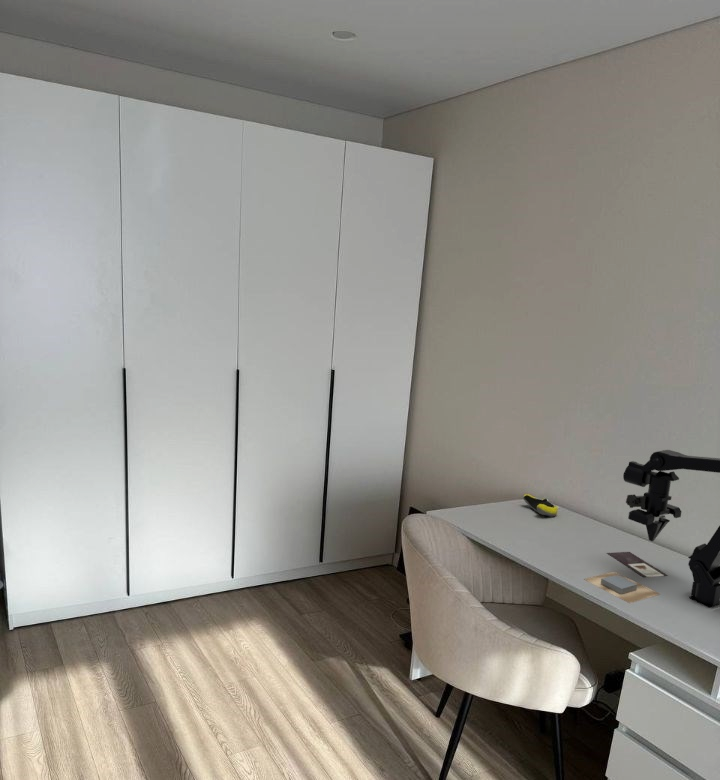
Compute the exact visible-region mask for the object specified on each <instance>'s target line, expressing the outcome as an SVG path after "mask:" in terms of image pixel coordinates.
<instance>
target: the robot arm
mask: <svg viewBox="0 0 720 780" xmlns="http://www.w3.org/2000/svg"><path fill="white" fill-rule="evenodd" d="M677 470H688V471H689V470H691V471H701V472H709V473H718V474H719V473H720V458H719V457H718V458H717V457H708V456H694V455H687V454H684V453H681V452H678V451H674V450H671V449H664V450H663V449H662V450H659V451H653V453H651V454H650V457H649V460H648V461H647V462H645V464H642V463H640V462H639V463H638V462H637V461H634V460H633V461H628V465H627V467H626V468H625V470H624V471H623V478H622V479H623V481H624V482H625V483H627V484H628V483H629V484H630V485H631V484H632V485H635V486H638V487H641V488H645V487H646V486H648V488H647V489H648V490H647V492H644V493H643V495H636V494H634V493H633V494H627V496H626V500H625V503H626V504H627V506H629V509H632V508H636V509H633V510H631V511H629V512H628V520H631V521H634V522H636V523H638V524H641V525H644V526H645V527H646V532H647V537H648V540H649V541H650V542H654V541H655V540H656V538H657V537H658V536H659V535H660V533H661V531H663V529H665V527H666V526H667V524H668V523H670V522H671V520H670V519H667V517H666V515H669V514H670V515H672V516H673V518H675V519H678V518H681V516H682V510H681V508H680V507H678V506H675V505H672V504H670V503H669V501H672V496H671V495H670V489H671V483H672V482H676V481H679V480H680V478H679V477H678V475H677V474H676V473H675V471H677ZM666 471H669V472H666ZM711 536H712V537H711V538H710V540H709V541H708V542H707V543H702V544H700V545H697V546H696V547H695V548H694V549H693V551H692V554H691V555H689V556H688V557H687V558H688V559H689V560H688V564H687V565H688V568H689V570H690V571H691V575H692V580H693V581H692V587H691V592H690V595H689V596H688V598H689V600H692V601H694V602H695V603H698V604H700V605H702V606H705V607H707V608H710V609H711V608H714V607H715V608H716V607H717V606H720V525H719V526H718V527H717V529H716V530H715V532H714V533H713V535H711Z"/></svg>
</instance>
